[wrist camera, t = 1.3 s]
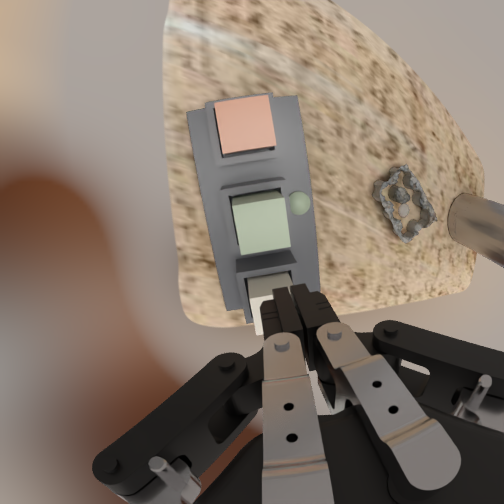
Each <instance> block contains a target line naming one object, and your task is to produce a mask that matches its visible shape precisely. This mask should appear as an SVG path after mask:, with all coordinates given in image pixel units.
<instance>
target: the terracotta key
mask: <svg viewBox="0 0 504 504" xmlns="http://www.w3.org/2000/svg"><path fill="white" fill-rule="evenodd" d="M214 106H215V112H216V117H217V123H218V129H219V135H220V141H221V147H222V152H223V154H231V153H237V152H243V151H249V150H255V149H262V148H269V147H273V146H276V145H277V144H276V138H275V132H274V126H273V120H272V114H271V109H270V103H269V98H268V95H263V96H255V97H247V98H240V99H234V100H228V101H222V102H217V103H214Z"/></svg>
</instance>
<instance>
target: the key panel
mask: <svg viewBox="0 0 504 504" xmlns="http://www.w3.org/2000/svg"><path fill="white" fill-rule="evenodd" d="M263 95H268V98H269V103H270V109H271V114H272V120H273V126H274V132H275V138H276V144H277V145H276V146H273V147H269V148H262V149H255V150H249V151H243V152H237V153H231V154H223V152H222V147H221V141H220V135H219V129H218V123H217V117H216V112H215V106H214V103H217V102H222V101H228V100H234V99H240V98H247V97H255V96H263ZM186 113H187V119H188V125H189V131H190V137H191V142H192V148H193V154H194V159H195V165H196V170H197V175H198V180H199V186H200V191H201V196H202V201H203V206H204V211H205V216H206V221H207V225H208V230H209V235H210V239H211V244H212V249H213V253H214V258H215V262H216V267H217V271H218V275H219V280H220V284H221V288H222V293H223V297H224V301H225V305H226V309H227V311H230V310H237V309H244V314H245V319H246V323H247V324H248V323H254V320H253V315H252V310H251V304H250V299H249V289H248V277H254V276H260V275H266V274H271V273H277V272H283V271H288V274H289V276H290V278H291V281H292V283H293V285H297V284H302V283H305V284H306V286H307V288H308V290H309V292H314V291H319V292H320V276H319V262H318V249H317V237H316V226H315V216H314V207H313V198H312V189H311V181H310V173H309V166H308V159H307V152H306V145H305V138H304V132H303V126H302V120H301V114H300V108H299V103H298V97H297V95H296V96H284V97H274V98H273V92H272V93H263V94H255V95H248V96H241V97H234V98H228V99H222V100H217V101H212V102H207V103H205V108H203V109H198V110H194V111H189V112H186ZM271 190H277V191H278V192H279V193H280V194H281V195H282V196H283V197H284V198H285V205H286V213H287V220H288V228H289V236H290V244H291V247H287V248H281V249H275V250H269V251H263V252H257V253H251V254H246V255H241V252H240V246H239V241H238V236H237V230H236V225H235V219H234V214H233V208H232V201H233V197H235V196H241V195H247V194H253V193H259V192H265V191H271Z"/></svg>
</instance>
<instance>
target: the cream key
mask: <svg viewBox="0 0 504 504" xmlns="http://www.w3.org/2000/svg"><path fill="white" fill-rule="evenodd" d="M292 285H293V283H292V281H291V278H290V276H289V274H288V271H283V272H277V273H271V274H266V275H260V276H254V277H248V289H249V299H250V304H251V310H252V315H253V320H254V325H255V330H256V335H263V327H262V321H261V314H260V308H259V307H260V306H261V304H262V302H263V301H266V300H272V299H273V293H272V289H275V288H281V287H286V286H287V287H288V290H289V292H290V286H292Z"/></svg>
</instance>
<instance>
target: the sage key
mask: <svg viewBox="0 0 504 504" xmlns="http://www.w3.org/2000/svg"><path fill="white" fill-rule="evenodd" d="M232 208H233V214H234V219H235V225H236V230H237V236H238V241H239V246H240V252H241V255H246V254H251V253H257V252H263V251H269V250H275V249H281V248H287V247H291V244H290V236H289V228H288V220H287V213H286V205H285V198H284V197H283V196H282V195H281V194H280V193H279V192H278V191H277V190H271V191H265V192H259V193H253V194H247V195H241V196H235V197H233V201H232Z"/></svg>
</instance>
